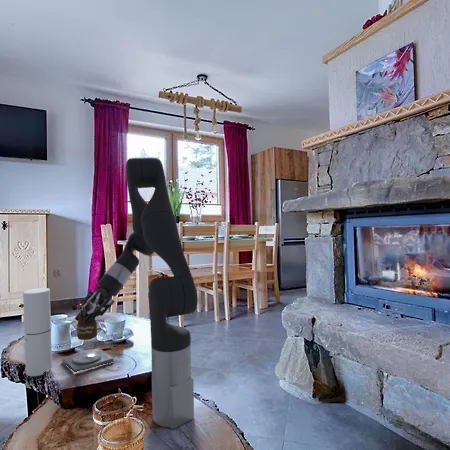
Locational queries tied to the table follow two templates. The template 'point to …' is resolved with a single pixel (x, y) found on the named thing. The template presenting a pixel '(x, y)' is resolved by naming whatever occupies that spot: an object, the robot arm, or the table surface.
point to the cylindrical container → (37, 331)
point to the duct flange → (87, 359)
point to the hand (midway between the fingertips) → (81, 322)
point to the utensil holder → (86, 327)
